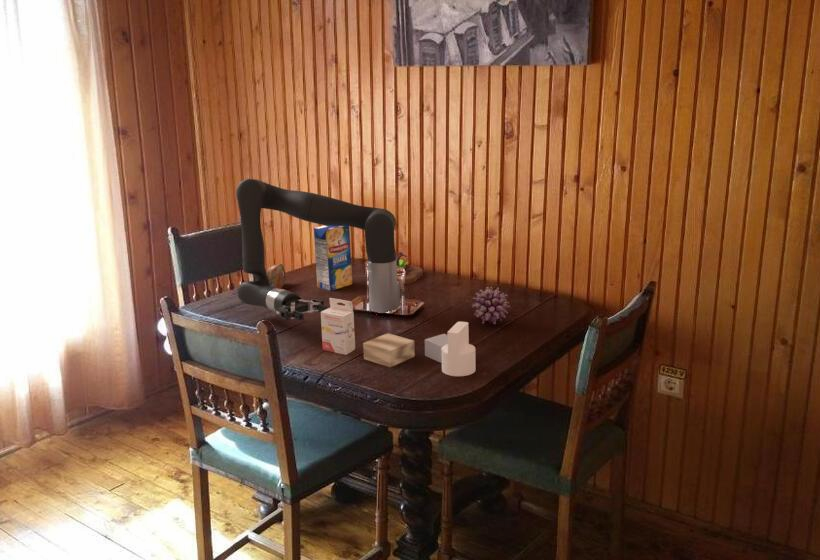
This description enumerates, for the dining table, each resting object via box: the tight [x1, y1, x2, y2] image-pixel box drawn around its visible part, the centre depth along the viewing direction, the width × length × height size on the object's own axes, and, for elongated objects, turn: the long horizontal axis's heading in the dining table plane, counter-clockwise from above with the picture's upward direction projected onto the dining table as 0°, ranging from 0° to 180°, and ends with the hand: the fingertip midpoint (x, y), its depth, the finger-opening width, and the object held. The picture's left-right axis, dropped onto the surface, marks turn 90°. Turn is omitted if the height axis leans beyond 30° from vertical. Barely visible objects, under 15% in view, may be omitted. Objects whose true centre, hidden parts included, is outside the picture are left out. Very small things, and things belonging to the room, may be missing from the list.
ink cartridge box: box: [320, 297, 356, 355], centre depth 232 cm, size 9×5×15 cm, turn 59°
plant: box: [396, 251, 424, 285], centre depth 304 cm, size 20×20×11 cm
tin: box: [266, 263, 286, 289], centre depth 293 cm, size 15×3×8 cm, turn 168°
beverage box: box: [313, 225, 353, 292], centre depth 293 cm, size 7×11×22 cm, turn 137°
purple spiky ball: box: [471, 286, 511, 325], centre depth 250 cm, size 12×12×12 cm
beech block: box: [362, 332, 416, 368], centre depth 226 cm, size 10×10×5 cm
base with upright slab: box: [441, 321, 477, 377], centre depth 216 cm, size 9×9×12 cm
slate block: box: [424, 333, 448, 364], centre depth 226 cm, size 7×7×5 cm
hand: (314, 313), depth 239 cm, fingers open, 8 cm apart
